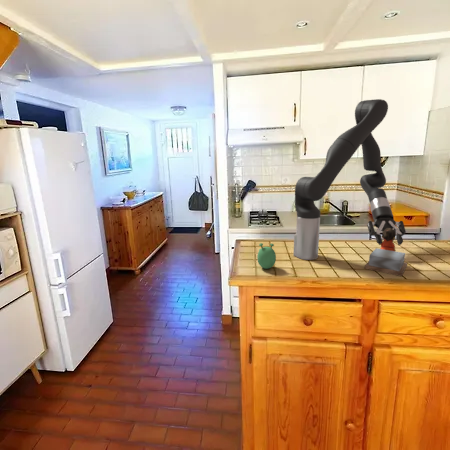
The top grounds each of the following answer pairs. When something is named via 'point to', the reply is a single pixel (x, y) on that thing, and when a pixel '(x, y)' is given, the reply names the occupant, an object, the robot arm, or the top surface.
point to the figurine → (388, 239)
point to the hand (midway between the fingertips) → (390, 243)
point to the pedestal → (387, 262)
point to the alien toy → (266, 256)
